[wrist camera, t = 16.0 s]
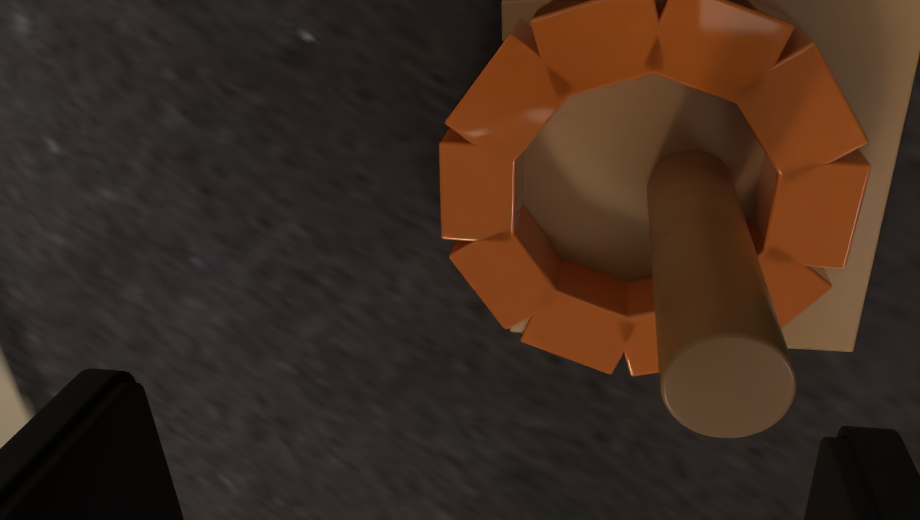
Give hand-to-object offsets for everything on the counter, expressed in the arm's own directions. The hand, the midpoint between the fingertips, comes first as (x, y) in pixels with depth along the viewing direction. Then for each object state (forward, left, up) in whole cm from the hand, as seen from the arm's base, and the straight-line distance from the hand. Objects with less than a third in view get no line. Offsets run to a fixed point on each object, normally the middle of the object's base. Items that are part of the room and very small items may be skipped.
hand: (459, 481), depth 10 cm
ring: (+3, 0, -11) cm, 11 cm away
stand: (+4, 0, -12) cm, 13 cm away
